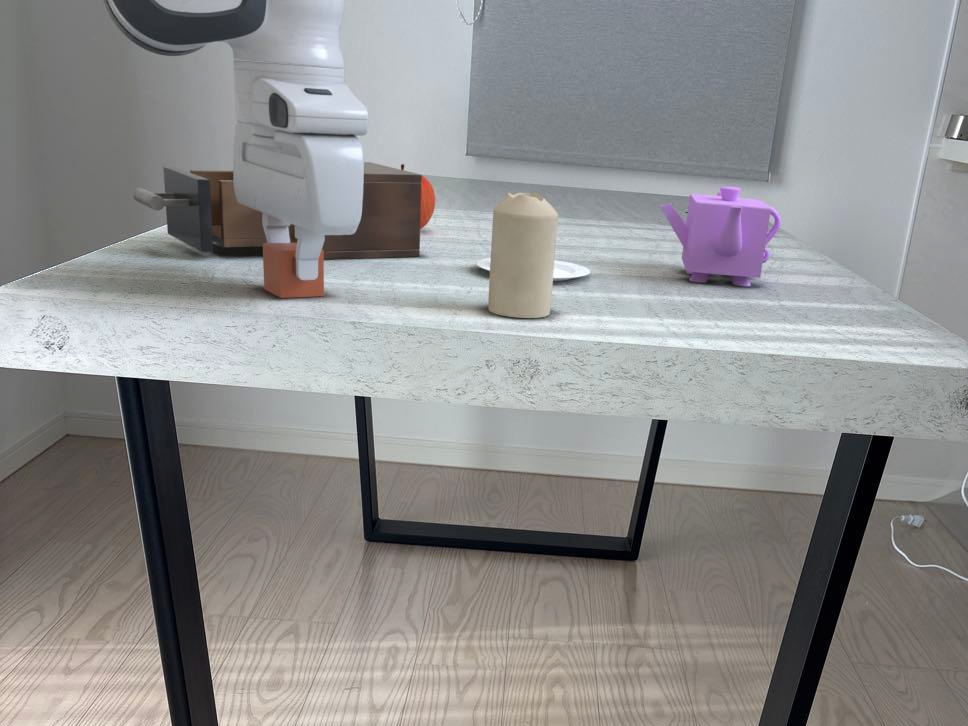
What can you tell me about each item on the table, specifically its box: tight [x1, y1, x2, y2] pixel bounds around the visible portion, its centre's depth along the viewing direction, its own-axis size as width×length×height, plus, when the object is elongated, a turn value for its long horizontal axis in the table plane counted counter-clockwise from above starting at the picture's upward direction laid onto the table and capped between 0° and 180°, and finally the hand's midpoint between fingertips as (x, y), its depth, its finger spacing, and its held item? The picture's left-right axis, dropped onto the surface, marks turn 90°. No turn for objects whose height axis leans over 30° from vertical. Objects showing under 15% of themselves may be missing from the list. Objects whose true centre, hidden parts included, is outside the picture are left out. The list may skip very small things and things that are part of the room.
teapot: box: [660, 185, 782, 287], centre depth 115 cm, size 18×13×10 cm
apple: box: [400, 163, 436, 230], centre depth 132 cm, size 8×8×8 cm
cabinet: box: [322, 161, 423, 260], centre depth 115 cm, size 14×13×9 cm
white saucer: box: [475, 257, 591, 282], centre depth 110 cm, size 12×12×4 cm
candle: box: [487, 192, 559, 319], centre depth 91 cm, size 6×6×10 cm
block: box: [262, 243, 325, 299], centre depth 92 cm, size 4×4×4 cm
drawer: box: [132, 166, 297, 253], centre depth 109 cm, size 16×11×7 cm
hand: (293, 273), depth 93 cm, fingers closed on block, 4 cm apart
